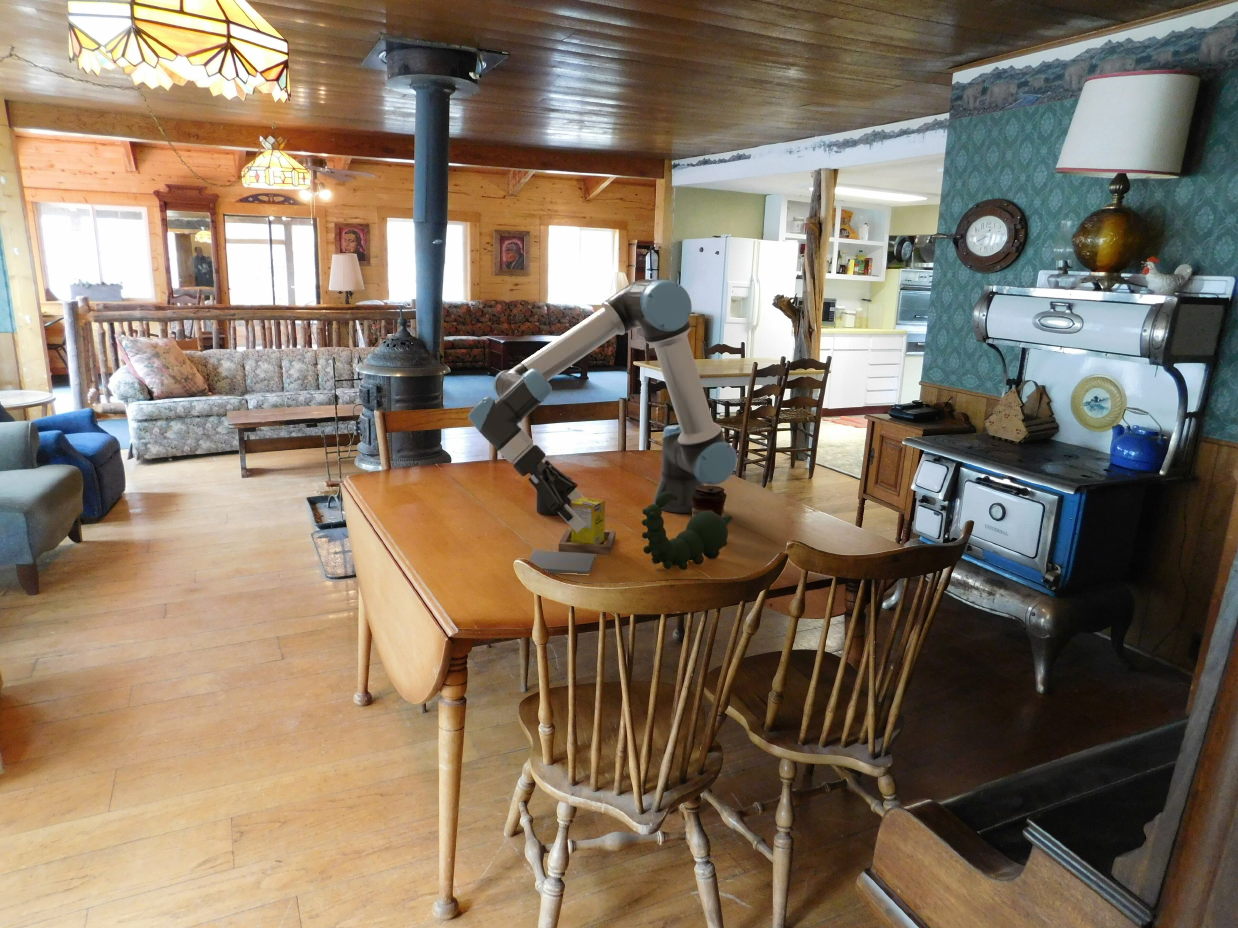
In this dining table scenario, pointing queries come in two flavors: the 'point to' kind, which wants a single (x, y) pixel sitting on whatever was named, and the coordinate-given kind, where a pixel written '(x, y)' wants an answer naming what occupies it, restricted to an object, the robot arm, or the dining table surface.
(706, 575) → the dining table surface
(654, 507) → the toy figurine
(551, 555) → the mat
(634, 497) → the dining table surface
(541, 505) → the mug
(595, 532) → the supplement box
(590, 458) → the dining table surface
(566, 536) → the frame
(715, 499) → the coffee cup
